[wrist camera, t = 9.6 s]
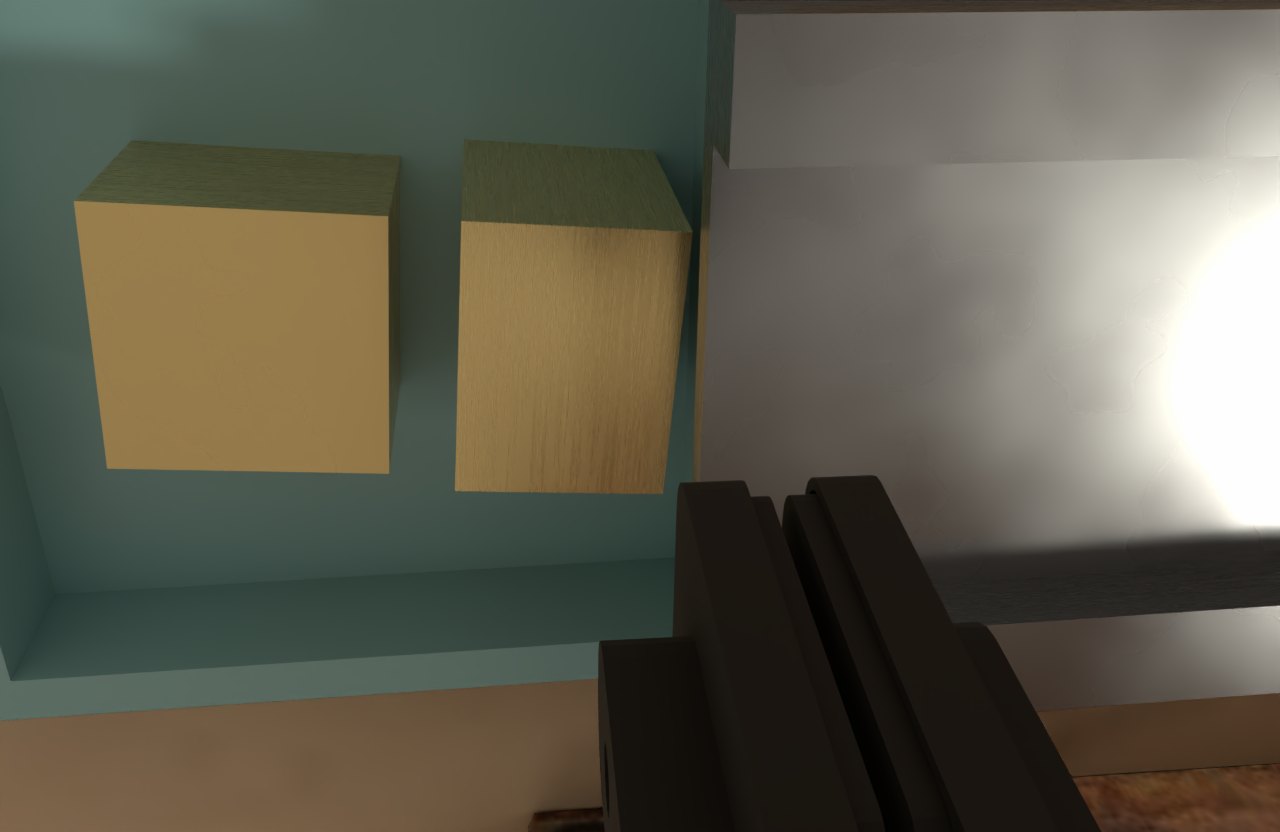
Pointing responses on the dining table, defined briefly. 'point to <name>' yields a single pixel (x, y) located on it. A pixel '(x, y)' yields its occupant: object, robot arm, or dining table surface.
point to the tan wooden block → (567, 318)
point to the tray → (429, 329)
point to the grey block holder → (1014, 312)
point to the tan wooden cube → (244, 307)
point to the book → (1116, 802)
